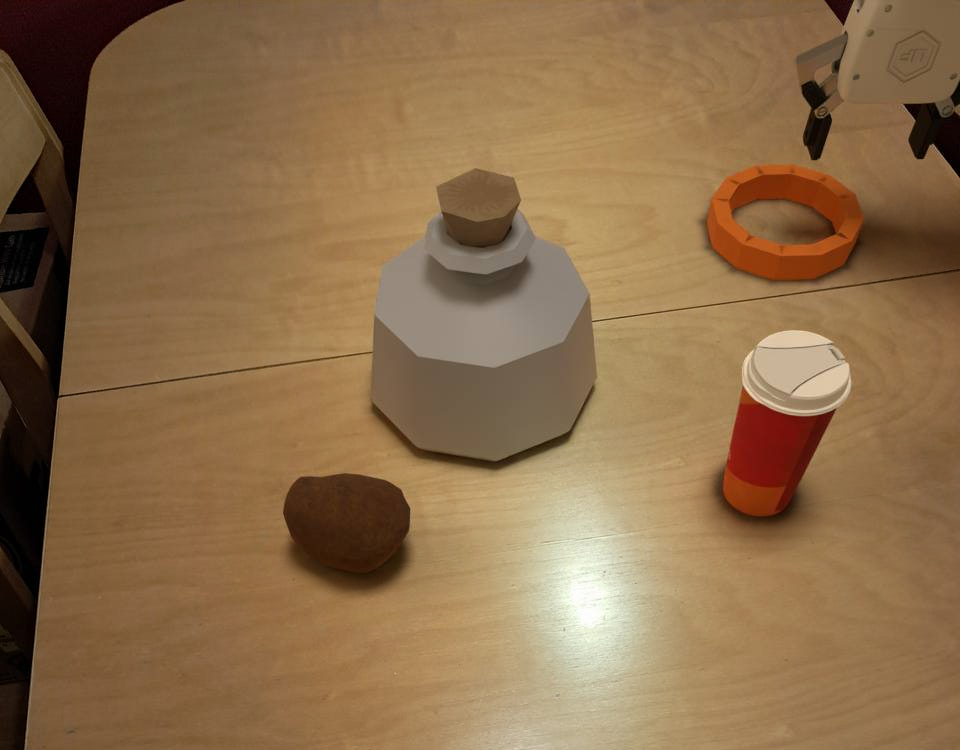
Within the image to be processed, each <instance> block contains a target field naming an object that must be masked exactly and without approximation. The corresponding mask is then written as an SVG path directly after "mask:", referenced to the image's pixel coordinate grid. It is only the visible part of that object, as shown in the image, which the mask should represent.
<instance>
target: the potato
mask: <svg viewBox="0 0 960 750" xmlns="http://www.w3.org/2000/svg"><path fill="white" fill-rule="evenodd" d="M282 516H283V518H284V522H285V524H286V526H287V530H288V533H289V535H290V538H291V539H292V540H293V541H294V542H295V544H296V545H298V546H299V547H300V548H301V549H302V550H303V551H304V552H305V553H306V554H307V555H309V556H310V557H311V558H313V559H315V560H317V561H318V562H319V563H321V564H323V565H326V566H328V567H331V568H333V569H337V570H343V571H348V572H351V573H356V574H363V573H369V572H371V571H373V570H375V569H378V568H379V567H380V566H381V565H383V564H384V563H385V562H387V561H388V560H389V559H390V558H391V557H392V556H393V555H394V554H395V553H396V552H397V550H399V548H400V546H401V545H402V543H403V541H404V540H405V538H406V537H407V535H408V533H409V531H410V527H411V507H410V504H409V503H408V501H407V499H406V497H405V495H404V493H403V491H402V488H400V487H398V486H397V485H395V484H393V483H392V482H391V481H388V480H386V479H383V478H378V477H373V476H370V475H369V476H368V475H363V474H357V473H347V472H344V473H343V472H342V473H335V474H329V475H325V476H314V475H307V476H306V475H305V476H299V477H298V478H297V479H296V480H294V482H293V483H292V484H291V485H290V487H289V489H288V491H287V493H286V497H285V500H284V503H283V509H282Z"/></svg>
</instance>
